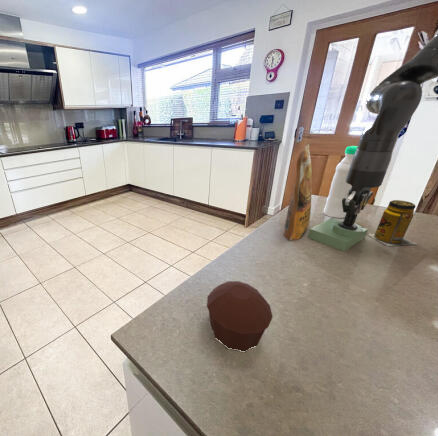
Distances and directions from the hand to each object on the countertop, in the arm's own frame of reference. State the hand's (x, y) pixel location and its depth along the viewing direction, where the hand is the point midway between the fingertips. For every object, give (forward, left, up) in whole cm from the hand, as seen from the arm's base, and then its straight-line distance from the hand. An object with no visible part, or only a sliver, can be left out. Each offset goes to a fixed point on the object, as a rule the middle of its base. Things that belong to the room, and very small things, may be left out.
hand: (348, 224), depth 70 cm
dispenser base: (0, -2, -6) cm, 6 cm away
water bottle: (-18, -10, -6) cm, 22 cm away
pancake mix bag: (+5, -12, -6) cm, 14 cm away
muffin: (+53, +5, -6) cm, 53 cm away
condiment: (-12, +8, -6) cm, 15 cm away
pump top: (0, 0, -2) cm, 2 cm away
